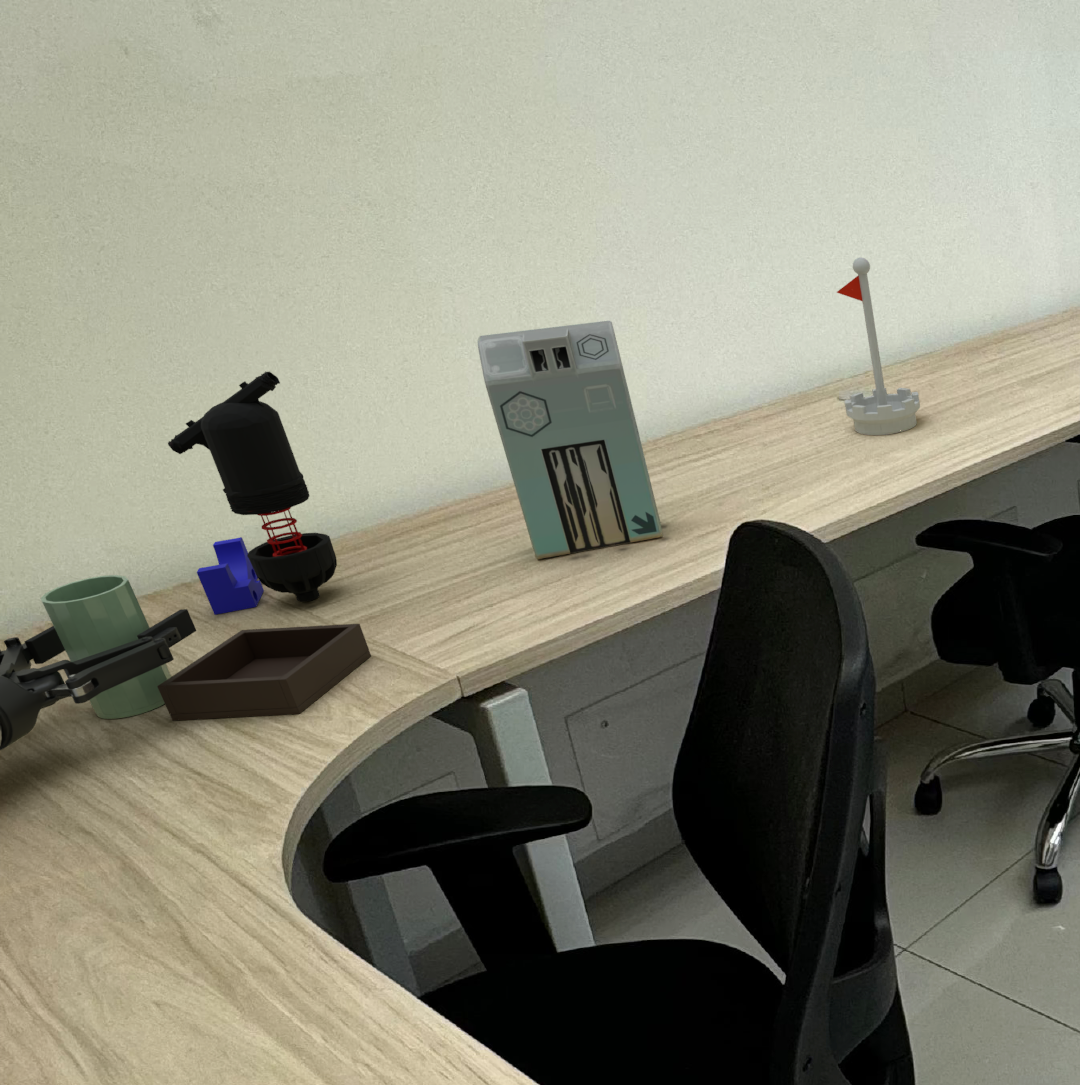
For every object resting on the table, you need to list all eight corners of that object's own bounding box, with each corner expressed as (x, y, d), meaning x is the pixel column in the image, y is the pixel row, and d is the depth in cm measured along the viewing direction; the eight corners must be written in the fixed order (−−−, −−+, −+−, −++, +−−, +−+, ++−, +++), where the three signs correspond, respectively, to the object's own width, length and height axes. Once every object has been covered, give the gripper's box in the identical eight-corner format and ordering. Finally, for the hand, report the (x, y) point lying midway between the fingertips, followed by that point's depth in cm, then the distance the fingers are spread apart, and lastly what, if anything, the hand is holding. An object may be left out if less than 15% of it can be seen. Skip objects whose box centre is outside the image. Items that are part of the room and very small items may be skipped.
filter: (366, 578, 168) (288, 361, 156) (346, 605, 160) (262, 378, 148) (250, 595, 165) (161, 374, 152) (225, 623, 157) (128, 392, 144)
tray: (172, 721, 134) (156, 686, 132) (254, 662, 146) (241, 629, 144) (299, 714, 134) (285, 679, 132) (371, 655, 146) (359, 623, 145)
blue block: (256, 606, 161) (239, 564, 158) (214, 614, 159) (196, 572, 157) (270, 575, 171) (255, 535, 168) (231, 582, 169) (215, 541, 166)
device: (536, 561, 171) (474, 347, 159) (538, 543, 178) (478, 336, 165) (663, 538, 178) (612, 330, 165) (660, 521, 184) (611, 320, 171)
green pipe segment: (79, 720, 135) (22, 604, 129) (129, 688, 141) (77, 576, 135) (146, 717, 135) (92, 601, 129) (193, 685, 141) (144, 573, 135)
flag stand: (901, 411, 233) (877, 248, 220) (935, 425, 224) (912, 256, 211) (836, 426, 226) (808, 258, 213) (869, 441, 216) (841, 267, 204)
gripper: (-143, 763, 120) (42, 658, 139) (105, 750, 120) (253, 647, 140) (-182, 696, 116) (12, 598, 136) (72, 682, 117) (229, 586, 137)
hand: (135, 622), depth 138 cm, fingers open, 11 cm apart
